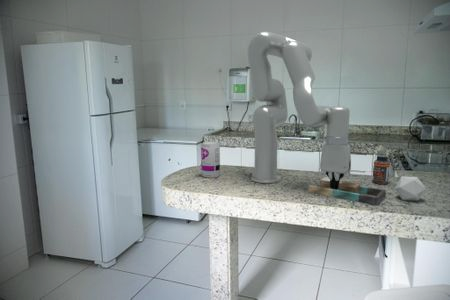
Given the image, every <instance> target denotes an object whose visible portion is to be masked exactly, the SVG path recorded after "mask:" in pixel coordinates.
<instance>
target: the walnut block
mask: <svg viewBox="0 0 450 300" xmlns="http://www.w3.org/2000/svg"><path fill="white" fill-rule="evenodd" d="M340 183H341V184H339V188H338V189H337V190H340V191H346V192H352V193H357V194H361V193H360V186H361V183H356V182H351V181H345V180H344V181H342V182H340Z"/></svg>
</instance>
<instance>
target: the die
mask: <svg viewBox="0 0 450 300" xmlns="http://www.w3.org/2000/svg"><path fill="white" fill-rule="evenodd" d="M426 188H427V187H425V185H424V184H423V183H422V182H421V180H420V179H419V178H418V177H417V176H400V178H399V180H398V182H397V184H396V186H395V187H394V190H395V191H396V193H397V195H398V196H399V197H400V199H401V200H402V201H417V202H419V201H420V199H421V198H422V197H423V196H422V195H423V194H424V193H425V191H426V190H427V189H426Z"/></svg>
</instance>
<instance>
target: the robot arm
mask: <svg viewBox="0 0 450 300" xmlns="http://www.w3.org/2000/svg"><path fill="white" fill-rule="evenodd" d="M268 55H269V56H272V57H273V56H274V57H277V58H280V59H282V60H283V62H284V65H285V68H286V70H287V71H286V72H287V74H288V76H289V78H290V80H291V83H292V86H293V87H292V97H293V99H292V100H293V104H294V108H295V110H296V113H297V115H298V118H299V120H300V121H301V122H302V124H303V125H304V126H305V127H307V128H314V127H315V128H316V127H321V126H326V125H327V132H326V137H324V136H323V137H321V138H322V141H323V140H324V141H325V143H326V144H324V145H323V144H322V146H323V149H322V148H321V154H320V161H319V169H320V173H322V174H324V175H326V177H327V176H328V177H329V179H330V187H331V188H330V189H335V190H338V188H339V182H340V180H341V179H343V178H345V177H350V176H351V169H352V156H351V154H352V153H351V148H350V147H351V146H350V145H349V144H348V143H349V131H350V130H349V128H350V108H348V107H346V106H326V105H316V102H315V99H314V95H313V91H312V86H313V83H314V81H315V79H316V76H315V72H314V70H313V68H312V65H311V63H310V61H311V59H312V57H313V52H312V49H311V46H309V45H308V44H307V43H305V42H301V41H298V40H296V39H293V38H290V37H288V36H285V35H282V34H278V33H275V32H270V31H260V32H258V33H256V34H255V35H254V36H253V37H252V38H251V40H250V41H249V44H248V46H247V60H248V64H249V70H250V71H249V72H250V80H251V88H252V95H253V97H254V99H255V100H256V101H258V102H260V103H266V104H264V105H263V104H262V105H260V106H258V107H257V108H256V109H255V110H254V111H253V114H252V125H253V131H254V167H248V169H247V170H246V171H247V173H249V174H252V175H251V176H250V180H251V181H252V182H255V183H260V184H273V183H279V182H281V176H280V175H278V146H279V145H278V141H279V140H278V133H277V127H280V126H281V127H282V125H284V124H285V123H286V122H287V120H288V115H289V113H288V111H289V110H288V102H287V96H286V89H285V87H284V84H283V83H282V82H281V81H280V80H278V79H276V78H273V74H272V66H271V63H270V61H269V59H268ZM340 183H341V182H340Z"/></svg>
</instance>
